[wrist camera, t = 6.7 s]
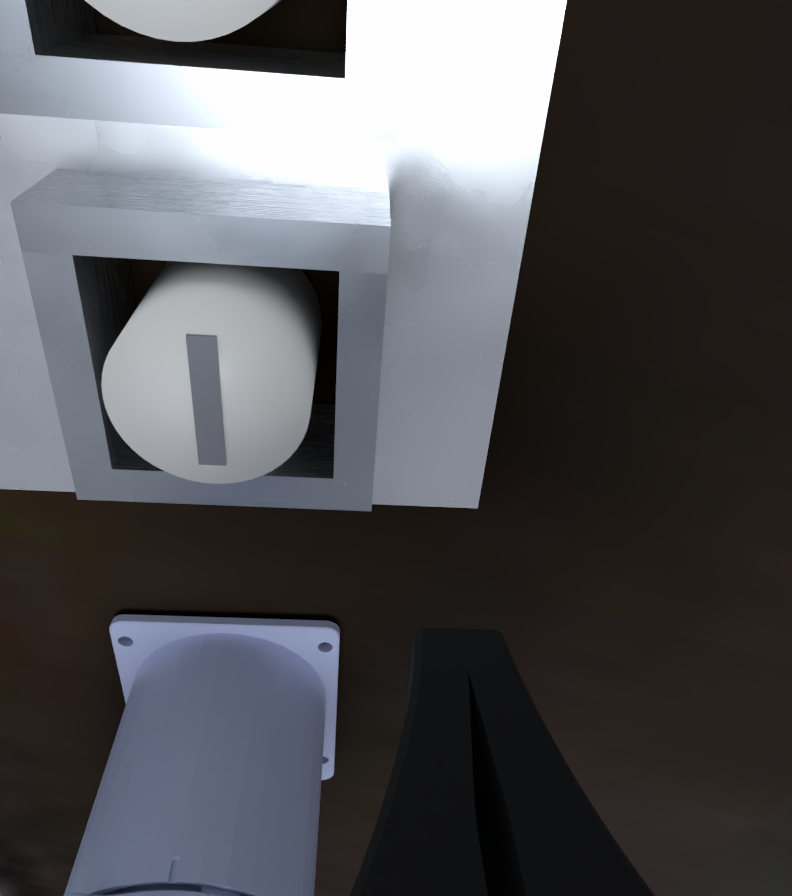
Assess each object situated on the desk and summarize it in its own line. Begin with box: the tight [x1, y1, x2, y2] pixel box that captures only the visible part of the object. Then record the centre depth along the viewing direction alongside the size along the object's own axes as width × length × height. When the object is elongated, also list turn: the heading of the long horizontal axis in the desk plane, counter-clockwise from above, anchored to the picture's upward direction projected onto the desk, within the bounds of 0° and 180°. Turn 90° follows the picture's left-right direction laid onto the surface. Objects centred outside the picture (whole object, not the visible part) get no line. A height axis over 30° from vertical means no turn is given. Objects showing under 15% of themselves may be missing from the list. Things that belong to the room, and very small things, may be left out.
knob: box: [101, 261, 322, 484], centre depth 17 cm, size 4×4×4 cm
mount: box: [0, 0, 567, 511], centre depth 15 cm, size 20×14×4 cm
